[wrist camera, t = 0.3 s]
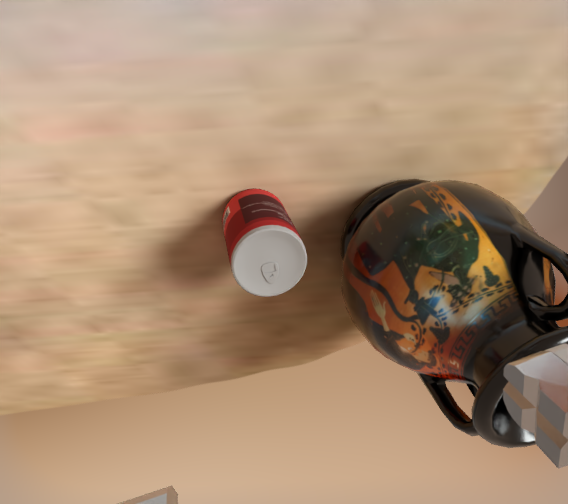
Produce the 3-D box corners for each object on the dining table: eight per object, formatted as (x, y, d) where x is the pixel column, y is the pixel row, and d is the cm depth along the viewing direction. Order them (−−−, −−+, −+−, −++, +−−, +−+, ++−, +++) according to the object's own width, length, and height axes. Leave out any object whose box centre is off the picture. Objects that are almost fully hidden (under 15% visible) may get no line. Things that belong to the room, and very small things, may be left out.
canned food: (239, 256, 53) (253, 309, 43) (208, 204, 48) (216, 251, 39) (294, 229, 52) (319, 276, 43) (268, 174, 48) (289, 214, 39)
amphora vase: (361, 132, 48) (540, 251, 24) (499, 182, 56) (738, 310, 32) (295, 285, 57) (378, 483, 33) (421, 310, 64) (564, 486, 40)
